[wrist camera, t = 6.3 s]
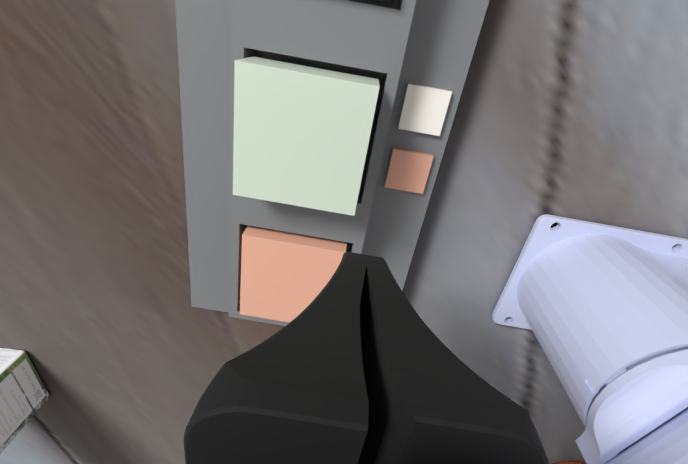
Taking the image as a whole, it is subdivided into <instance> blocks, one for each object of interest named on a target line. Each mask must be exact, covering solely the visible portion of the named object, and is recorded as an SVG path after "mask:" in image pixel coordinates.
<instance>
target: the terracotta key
mask: <svg viewBox="0 0 688 464" xmlns="http://www.w3.org/2000/svg"><path fill="white" fill-rule="evenodd" d="M346 247H347V242H342V241H337V240H331V239H325V238H319V237H313V236H308V235H302V234H296V233H290V232H284V231H279V230H273V229H267V228H261V227H255V226H250V225H248V226H247V228H246V229H245V231H244V232H243V234H242V254H241V288H240V314H241V315H247V316H253V317H259V318H265V319H271V320H277V321H283V322H289V323H290V322H291V321H292V320H293V319H295V318H296V317H297V316H298V315H299V314H300V313H301V312H302V311H303V310H304V309H305V308H307V307H308V306H309V304H310V303H311V302H312V301H313V300H314V299H315V298H316V297H317V296H318V294H319V293H320V292H321V291H322V290H323V288H324V287H325V286H326V285H327V283H328V282H329V280H330V279H331V277H332V276H333V274H334V273H335V271H336V270H337V268H338V266H339V264H340V262H341V260H342V257H343V254H344V253H345V252H346Z"/></svg>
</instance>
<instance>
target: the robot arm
mask: <svg viewBox="0 0 688 464" xmlns="http://www.w3.org/2000/svg"><path fill="white" fill-rule="evenodd" d="M557 222H558V223H557ZM554 223H557V225H556V226H555V227H552V228H551V225H552V224H554ZM676 244H677V245H676ZM674 245H676V246H675V247H673V246H674ZM672 247H673V248H672ZM507 317H510V318H509V319H506V318H507ZM492 318H493V321H494V322H495V323H497V324H501V325H507V326H513V327H519V328H524V329H530V330H532V331H533V333H534V334H535V336H536V338H537V340H538V342H539V344H540V345H541V347H542V349H543V351H544V353H545V355H546V356H547V358H548V360H549V362H550V364H551V366H552V368H553V369H554V371H555V373H556V375H557V377H558V379H559V380H560V382H561V384H562V386H563V388H564V390H565V391H566V393H567V395H568V397H569V399H570V401H571V402H572V404H573V406H574V408H575V410H576V412H577V413H578V415H579V417H580V419H581V421H582V423H583V425H584V426H585V428H586V429H585V431H584V432H583V433H582V435H581V436H580V437H578V438H577V439H576V441H575V442H576V444H577V446H578V448H579V450H580V452H581V454H582V456H583V458H584V460H585V462H586V464H688V239H685V238H679V237H673V236H668V235H662V234H656V233H650V232H645V231H639V230H633V229H628V228H622V227H616V226H611V225H605V224H599V223H594V222H588V221H582V220H577V219H571V218H565V217H559V216H554V215H542V216H540V217H539V218H538V219H537V220H536V222H535V224H534V226H533V228H532V230H531V232H530V234H529V237H528V239H527V241H526V243H525V245H524V247H523V249H522V252H521V254H520V256H519V258H518V260H517V262H516V264H515V267H514V269H513V271H512V273H511V275H510V277H509V279H508V281H507V284H506V286H505V288H504V290H503V292H502V294H501V296H500V299H499V301H498V303H497V305H496V307H495V309H494V311H493V314H492ZM184 451H185V462H186V464H548V458H547V456H546V453H545V451H544V449H543V446H542V444H541V441H540V438H539V436H538V433H537V431H536V429H535V427H534V425H533V423H532V421H531V419H530V417H529V415H528V413H527V411H526V410H525V409H523V408H522V407H521V406H519V405H518V404H516V403H515V402H513V401H512V400H511V399H509V398H508V397H506V396H505V395H503V394H502V393H500V392H499V391H498V390H496V389H495V388H493V387H492V386H491V385H489V384H488V383H487V382H486V381H484V380H483V379H482V378H481V377H479V376H478V375H477V374H476V373H474V372H473V371H472V370H471V369H470V368H468V367H467V366H466V365H465V364H464V363H463V362H462V361H460V360H459V359H458V358H457V357H456V356H455V355H454V354H453V353H452V352H451V351H450V350H449V349H448V348H447V347H446V346H445V345H444V344H443V343H442V342H441V341H440V340H439V339H438V338H437V337H436V336H435V335H434V333H433V332H432V331H431V330H430V329H429V328H428V327H427V326H426V324H425V323H424V322H423V321H422V319H421V318H420V317H419V316H418V314H417V313H416V311H415V310H414V309H413V307H412V306H411V304H410V303H409V301H408V300H407V298H406V297H405V295H404V293H403V292H402V290H401V289H400V287H399V285H398V284H397V282H396V280H395V278H394V276H393V275H392V273H391V271H390V269H389V267H388V265H387V263H386V261H385V260H384V258H382V257H376V256H370V255H364V254H359V253H353V252H345V253H344V254H343V257H342V260H341V262H340V264H339V266H338V268H337V270H336V271H335V273H334V274H333V276H332V277H331V279H330V280H329V282H328V283H327V285H326V286H325V287H324V288H323V290H322V291H321V292H320V293H319V294H318V296H317V297H316V298H315V299H314V300H313V301H312V302H311V303H310V304H309V306H308V307H307V308H305V309H304V310H303V311H302V312H301V313H300V314H299V315H298V316H297V317H296V318H295V319H293V320H292V321H291V322H290V323H289V324H287V325H286V326H285V327H284V328H282V329H281V330H280V331H278V332H277V333H275V334H274V335H273V336H271V337H270V338H268V339H267V340H265V341H264V342H262V343H261V344H259V345H258V346H256V347H254V348H253V349H251V350H249V351H247V352H245V353H243V354H241V355H240V356H238V357H236V358H234V359H232V360H230V361H228V362H226V363H225V364H224V365H223V366H222V368H221V369H220V370H219V372H218V373H217V374H216V376H215V377H214V378H213V380H212V381H211V383H210V384H209V386H208V387H207V389H206V390H205V392H204V394H203V395H202V397H201V398H200V400H199V402H198V404H197V406H196V408H195V410H194V412H193V415H192V417H191V419H190V421H189V423H188V425H187V427H186V430H185V435H184Z"/></svg>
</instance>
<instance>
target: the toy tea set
mask: <svg viewBox="0 0 688 464" xmlns="http://www.w3.org/2000/svg"><path fill="white" fill-rule="evenodd" d="M554 464H586V463H583V462H576V461H565V462H558V463H554Z"/></svg>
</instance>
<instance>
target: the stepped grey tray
mask: <svg viewBox="0 0 688 464" xmlns="http://www.w3.org/2000/svg"><path fill="white" fill-rule="evenodd" d="M488 4H489V0H393V2H392V3H388V2H383V1H378V0H175V5H176V24H177V42H178V61H179V80H180V98H181V117H182V136H183V154H184V173H185V192H186V210H187V229H188V248H189V266H190V285H191V304H192V306H193V307H199V308H205V309H211V310H217V311H223V312H229V317H234V318H240V319H246V320H252V321H258V322H264V323H270V324H276V325H282V326H286V325H287V324H289V322H283V321H277V320H271V319H265V318H259V317H253V316H247V315H241V314H240V288H241V254H242V234H243V232H244V231H245V229H246V228H247V226H248V225H250V226H255V227H261V228H267V229H273V230H279V231H284V232H290V233H296V234H302V235H308V236H313V237H319V238H325V239H331V240H337V241H342V242H347V247H346V252H353V253H359V254H364V255H370V256H376V257H382V258H384V260H385V261H386V263H387V265H388V267H389V269H390V271H391V273H392V275H393V276H394V278H395V280H396V282H397V284H398V285H399V287H400V289H401V290H403V287H404V284H405V280H406V277H407V274H408V270H409V267H410V264H411V260H412V257H413V254H414V250H415V247H416V244H417V240H418V237H419V234H420V230H421V227H422V224H423V220H424V217H425V214H426V210H427V207H428V204H429V200H430V197H431V194H432V190H433V187H434V184H435V180H436V177H437V174H438V170H439V167H440V164H441V160H442V157H443V154H444V150H445V147H446V144H447V140H448V137H449V134H450V130H451V127H452V124H453V120H454V117H455V114H456V110H457V107H458V104H459V100H460V97H461V94H462V90H463V87H464V84H465V80H466V77H467V74H468V70H469V67H470V64H471V60H472V57H473V54H474V50H475V47H476V44H477V40H478V37H479V34H480V30H481V27H482V24H483V20H484V17H485V14H486V10H487V7H488ZM254 56H255V57H261V58H266V59H272V60H277V61H283V62H288V63H294V64H299V65H305V66H310V67H316V68H321V69H327V70H332V71H338V72H343V73H349V74H354V75H360V76H365V77H371V78H376V79H379V86H380V87H379V93H378V98H377V103H376V108H375V113H374V118H373V123H372V128H371V134H370V139H369V144H368V149H367V154H366V159H365V164H364V169H363V174H362V180H361V185H360V190H359V195H358V200H357V205H356V210H355V215H354V216H352V215H346V214H341V213H335V212H329V211H323V210H318V209H312V208H306V207H300V206H295V205H289V204H283V203H277V202H272V201H266V200H260V199H254V198H249V197H243V196H237V195H233V140H234V70H235V60H238V59H243V58H249V57H254Z"/></svg>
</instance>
